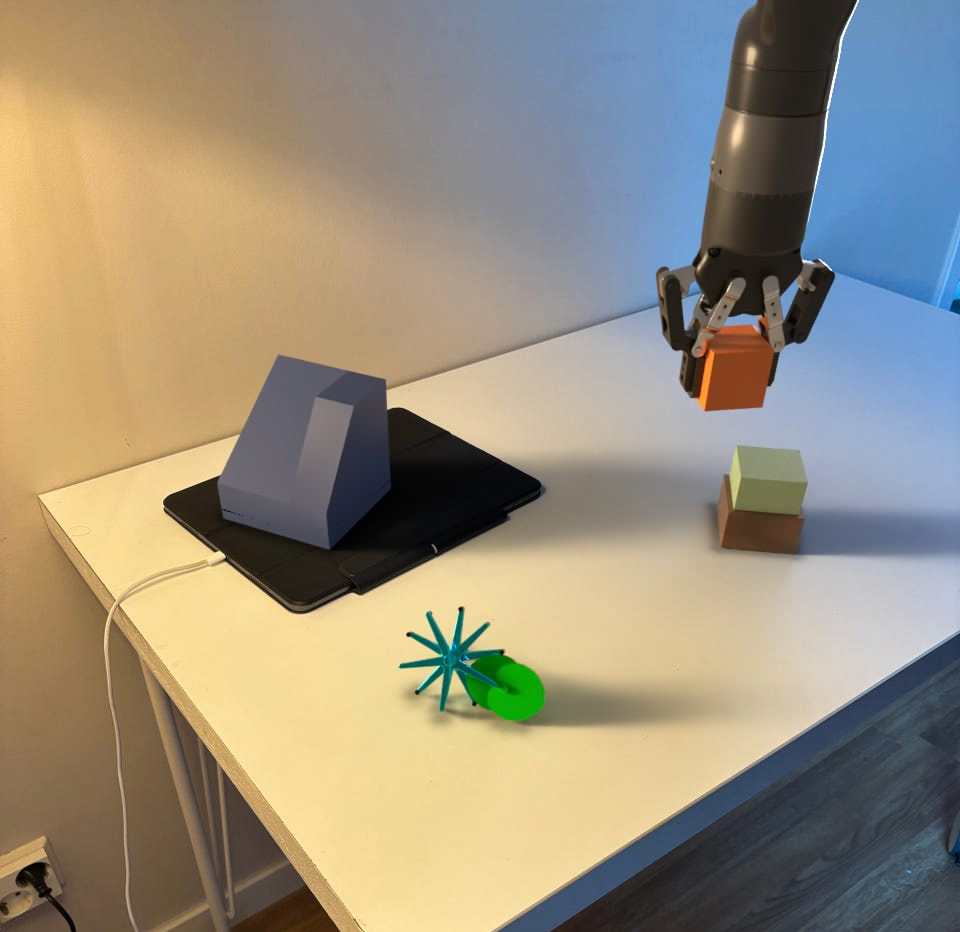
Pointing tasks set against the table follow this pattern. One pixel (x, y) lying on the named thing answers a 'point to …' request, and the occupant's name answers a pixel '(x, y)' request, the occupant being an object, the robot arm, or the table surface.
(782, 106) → the robot arm
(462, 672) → the stick construction toy
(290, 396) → the phone stand
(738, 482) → the green block
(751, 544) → the walnut block
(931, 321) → the table surface
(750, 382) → the toy cube
